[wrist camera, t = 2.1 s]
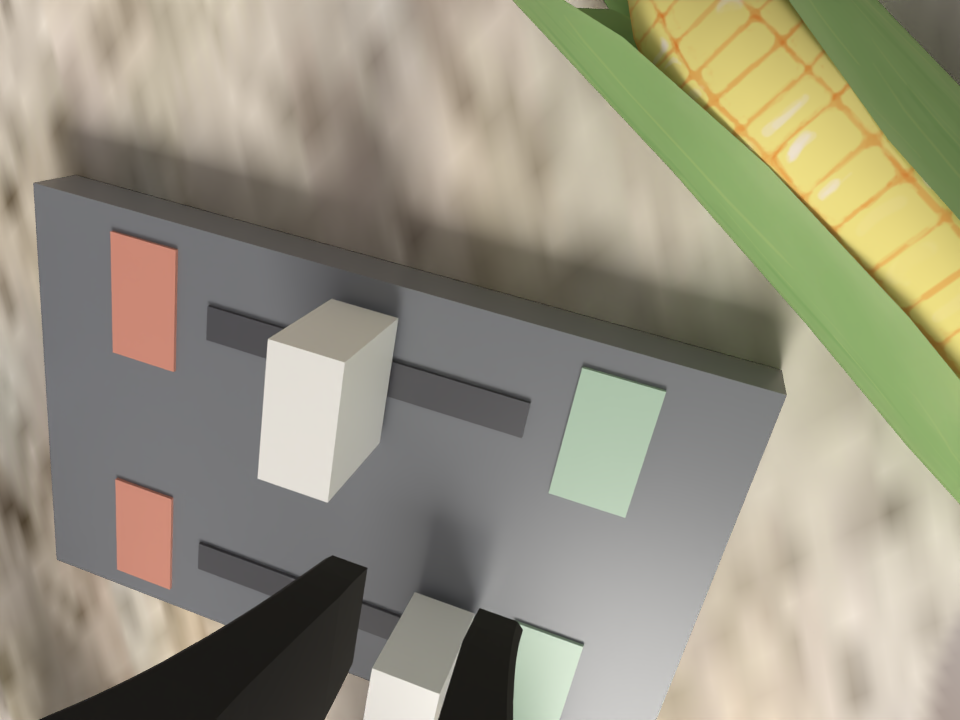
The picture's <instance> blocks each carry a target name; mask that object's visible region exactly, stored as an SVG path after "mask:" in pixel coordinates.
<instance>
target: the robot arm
mask: <svg viewBox="0 0 960 720" xmlns="http://www.w3.org/2000/svg"><path fill="white" fill-rule="evenodd" d="M367 569H368V568H367V567H364V566H361V565H359V564H356V563H353V562H350V561H347V560H345V559H342V558H339V557H336V556H333V555H332V556H330V557H328V558H326V559H324V560H323V561H321V562H320V563H318V564H317V565H315V566H314V567H313V568H311V569H310V570H308V571H307V572H305V573H304V574H303V575H301V576H300V577H298V578H297V579H295V580H294V581H293V582H291V583H290V584H288V585H287V586H285V587H284V588H282V589H281V590H279V591H278V592H276V593H275V594H273V595H272V596H270V597H269V598H267V599H266V600H264V601H263V602H261V603H260V604H258V605H257V606H255V607H254V608H252V609H250V610H249V611H247V612H246V613H244V614H243V615H241V616H239V617H238V618H236V619H235V620H233V621H232V622H230V623H228V624H227V625H225V626H224V627H222V628H220V629H219V630H217V631H216V632H214V633H212V634H211V635H209V636H207V637H205V638H204V639H202V640H200V641H198V642H197V643H195V644H193V645H191V646H189V647H188V648H186V649H184V650H182V651H181V652H179V653H177V654H175V655H174V656H172V657H170V658H168V659H167V660H165V661H163V662H161V663H159V664H157V665H156V666H154V667H152V668H150V669H148V670H146V671H144V672H142V673H140V674H138V675H136V676H134V677H132V678H130V679H128V680H126V681H124V682H122V683H120V684H118V685H116V686H114V687H112V688H110V689H108V690H106V691H103V692H101V693H99V694H97V695H95V696H93V697H91V698H88V699H86V700H84V701H82V702H79V703H77V704H75V705H72V706H70V707H68V708H65V709H63V710H61V711H58V712H56V713H54V714H51V715H49V716H47V717H44V718H42V719H40V720H324V719H325V717H326V715H327V714H328V712H329V710H330V708H331V706H332V704H333V702H334V700H335V698H336V696H337V694H338V692H339V690H340V688H341V686H342V684H343V682H344V680H345V678H346V676H347V674H348V672H349V670H350V668H351V666H352V664H353V659H354V652H355V646H356V639H357V633H358V627H359V620H360V614H361V607H362V601H363V594H364V588H365V582H366V575H367ZM522 632H523V629H522V628H521V626H520V624H519V623H518V621H515V620H512V619H509V618H507V617H504V616H501V615H498V614H495V613H493V612H490V611H487V610H484V609H481V608H479V610H478V612H477V614H476V616H475V617H474V619H473V621H472V623H471V625H470V627H469V629H468V631H467V633H466V635H465V637H464V639H463V641H462V644H461V647H460V651H459V654H458V657H457V660H456V663H455V667H454V670H453V673H452V676H451V679H450V683H449V686H448V689H447V692H446V696H445V699H444V702H443V705H442V708H441V712H440V715H439V718H438V720H513V698H514V680H515V668H516V659H517V652H518V647H519V643H520V639H521V636H522Z"/></svg>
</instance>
